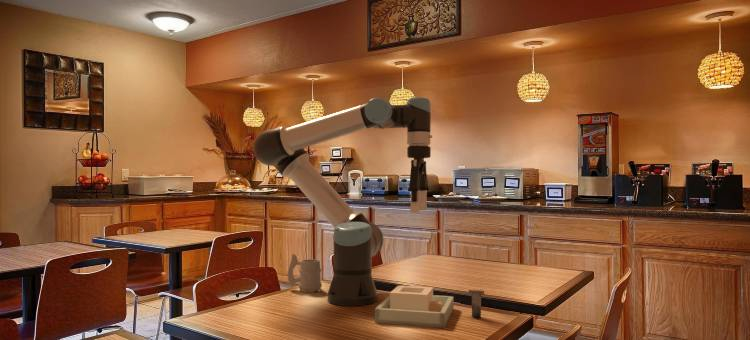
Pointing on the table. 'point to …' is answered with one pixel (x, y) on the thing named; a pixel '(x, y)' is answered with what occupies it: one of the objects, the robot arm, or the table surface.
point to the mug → (306, 274)
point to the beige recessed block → (414, 299)
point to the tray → (415, 314)
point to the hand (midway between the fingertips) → (418, 211)
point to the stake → (476, 303)
